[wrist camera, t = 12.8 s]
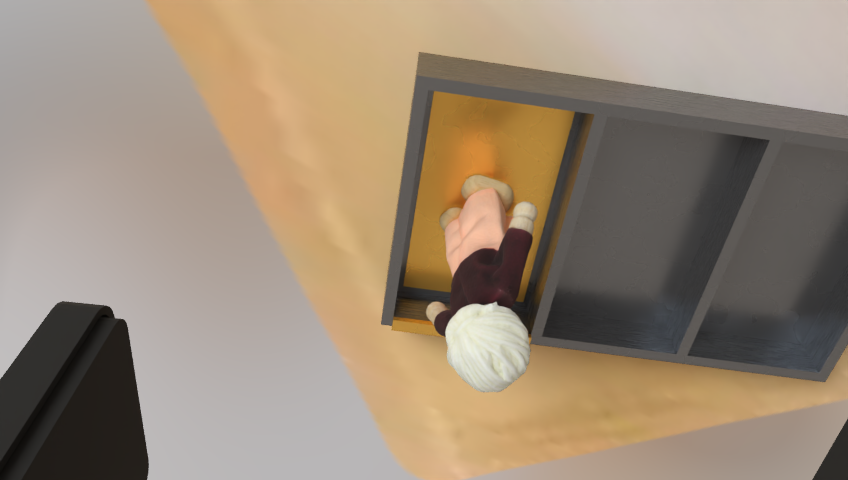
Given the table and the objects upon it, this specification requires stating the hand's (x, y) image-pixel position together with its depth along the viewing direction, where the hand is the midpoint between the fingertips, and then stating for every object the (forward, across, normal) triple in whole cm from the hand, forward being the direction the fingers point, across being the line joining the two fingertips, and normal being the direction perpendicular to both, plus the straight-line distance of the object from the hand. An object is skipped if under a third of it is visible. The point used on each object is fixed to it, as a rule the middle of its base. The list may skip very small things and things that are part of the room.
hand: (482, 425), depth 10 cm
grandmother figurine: (+27, -2, +12) cm, 29 cm away
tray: (+27, -10, +12) cm, 32 cm away
